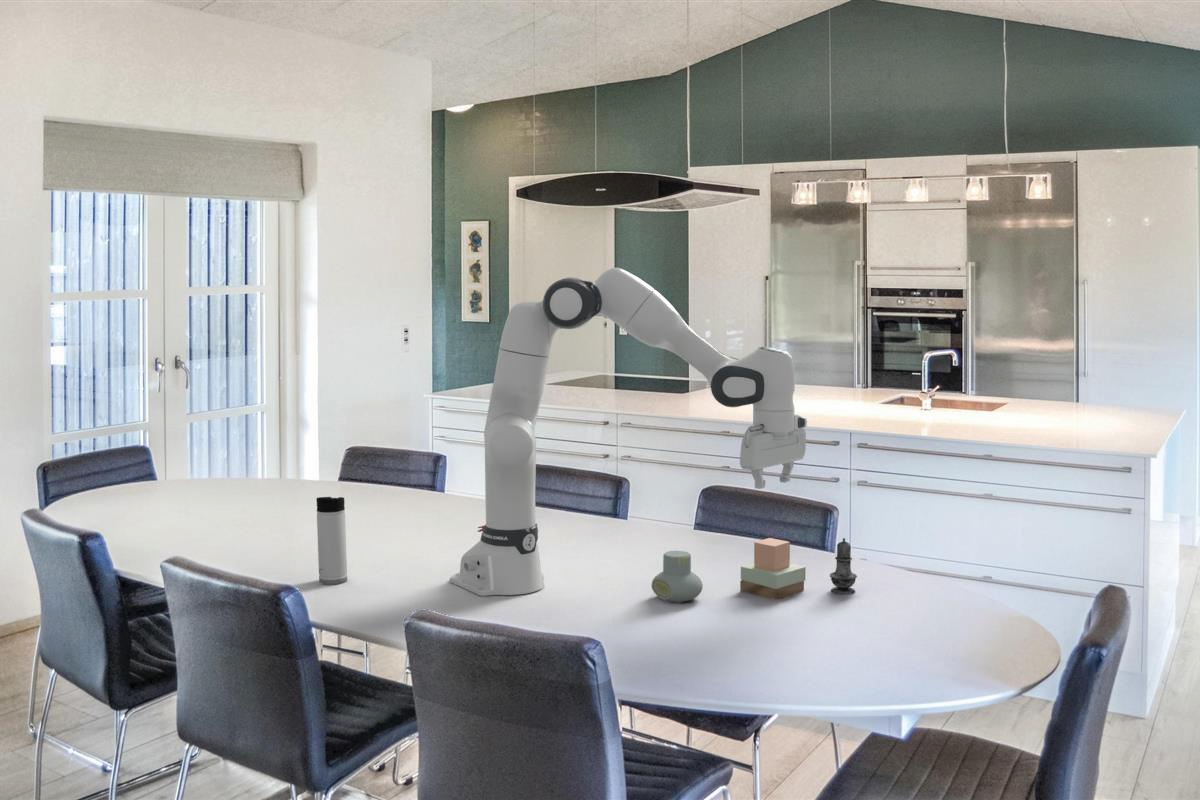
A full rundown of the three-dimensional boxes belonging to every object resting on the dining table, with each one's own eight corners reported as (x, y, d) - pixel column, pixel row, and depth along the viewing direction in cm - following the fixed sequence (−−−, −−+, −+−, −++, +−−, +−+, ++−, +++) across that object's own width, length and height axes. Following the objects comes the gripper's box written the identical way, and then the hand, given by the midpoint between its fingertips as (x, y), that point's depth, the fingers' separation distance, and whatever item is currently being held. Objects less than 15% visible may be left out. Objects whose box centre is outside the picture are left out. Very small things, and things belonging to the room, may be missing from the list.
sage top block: (740, 579, 254) (740, 566, 254) (769, 571, 261) (769, 558, 261) (776, 588, 247) (776, 575, 247) (805, 580, 254) (805, 566, 253)
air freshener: (708, 601, 246) (708, 556, 245) (677, 608, 242) (677, 562, 241) (676, 590, 255) (676, 545, 254) (646, 596, 251) (646, 551, 250)
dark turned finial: (859, 595, 251) (860, 540, 249) (832, 595, 251) (833, 541, 249) (853, 587, 256) (854, 534, 255) (827, 587, 257) (828, 534, 255)
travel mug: (314, 584, 261) (311, 498, 259) (325, 577, 268) (322, 492, 265) (340, 586, 260) (337, 498, 258) (351, 578, 267) (348, 492, 264)
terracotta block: (754, 566, 254) (754, 542, 253) (769, 561, 258) (769, 537, 257) (774, 571, 250) (774, 546, 249) (789, 566, 254) (789, 541, 253)
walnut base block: (740, 594, 254) (740, 580, 254) (765, 584, 261) (765, 571, 261) (778, 602, 247) (778, 589, 247) (803, 592, 255) (804, 579, 254)
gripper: (757, 428, 240) (756, 494, 242) (811, 418, 255) (810, 480, 257) (733, 425, 244) (732, 490, 246) (787, 416, 259) (786, 476, 261)
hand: (772, 485), depth 252 cm, fingers open, 8 cm apart
